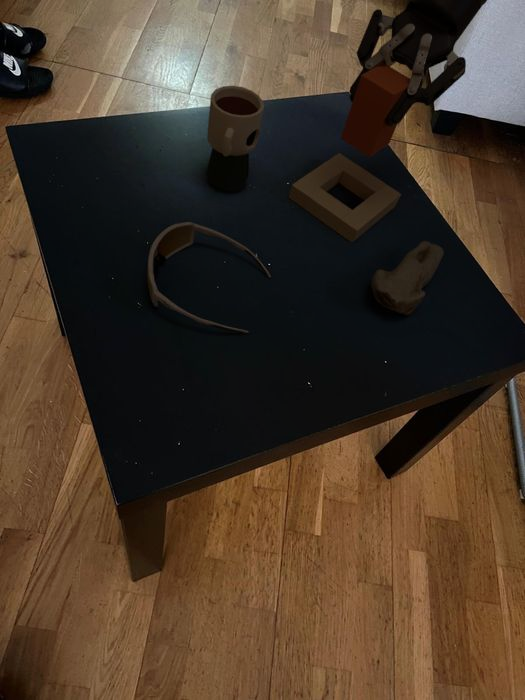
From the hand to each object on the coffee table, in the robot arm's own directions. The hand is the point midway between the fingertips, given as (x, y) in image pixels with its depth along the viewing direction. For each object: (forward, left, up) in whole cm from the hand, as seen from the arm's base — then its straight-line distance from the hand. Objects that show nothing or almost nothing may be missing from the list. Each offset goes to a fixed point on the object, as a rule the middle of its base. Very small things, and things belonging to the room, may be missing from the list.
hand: (370, 111), depth 68 cm
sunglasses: (+15, +21, -16) cm, 31 cm away
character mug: (+17, 0, -16) cm, 24 cm away
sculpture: (-11, +12, -16) cm, 23 cm away
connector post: (-1, -2, -5) cm, 5 cm away
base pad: (-1, -2, -16) cm, 16 cm away
